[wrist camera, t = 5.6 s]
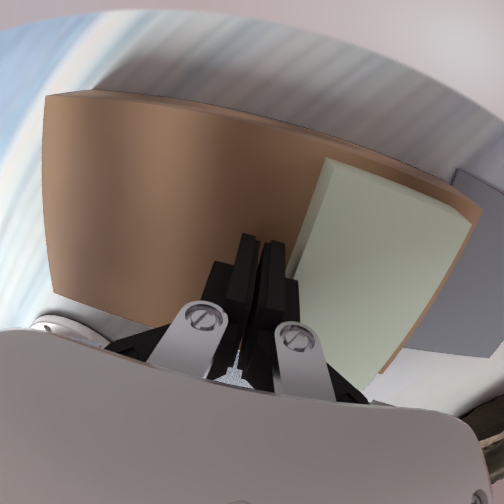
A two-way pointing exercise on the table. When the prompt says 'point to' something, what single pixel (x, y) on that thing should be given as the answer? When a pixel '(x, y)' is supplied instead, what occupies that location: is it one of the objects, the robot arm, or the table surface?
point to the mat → (470, 285)
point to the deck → (183, 195)
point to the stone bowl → (490, 435)
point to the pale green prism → (369, 265)
